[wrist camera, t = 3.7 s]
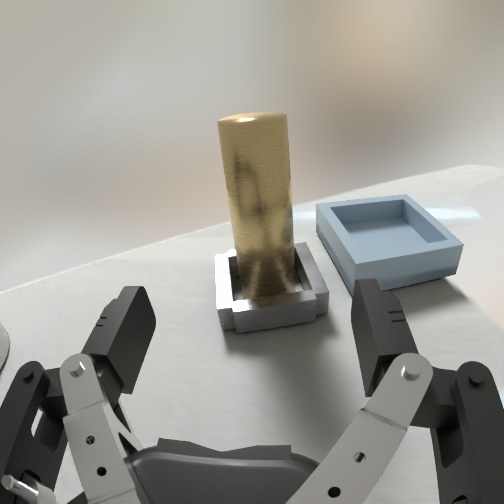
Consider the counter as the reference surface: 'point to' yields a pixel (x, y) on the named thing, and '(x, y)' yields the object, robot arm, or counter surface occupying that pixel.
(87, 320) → the counter surface
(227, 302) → the grey square holder
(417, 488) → the counter surface
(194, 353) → the counter surface
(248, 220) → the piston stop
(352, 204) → the tray
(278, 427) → the counter surface
